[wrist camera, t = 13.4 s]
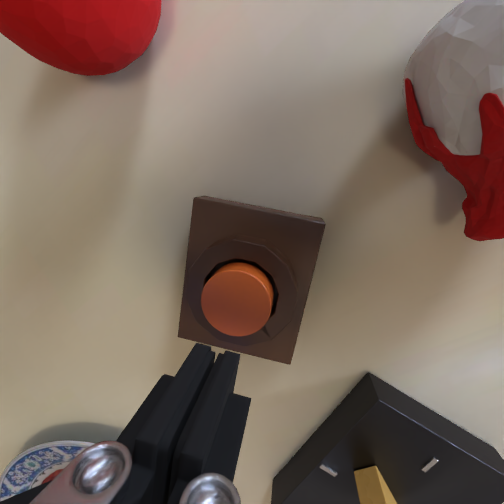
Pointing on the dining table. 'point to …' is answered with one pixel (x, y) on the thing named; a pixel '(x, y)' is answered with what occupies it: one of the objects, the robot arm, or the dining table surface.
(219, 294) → the button
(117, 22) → the fruit
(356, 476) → the tap lever
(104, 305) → the dining table surface
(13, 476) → the ceramic plate
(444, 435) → the plate
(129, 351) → the dining table surface
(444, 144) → the white and red skull
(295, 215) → the button block
